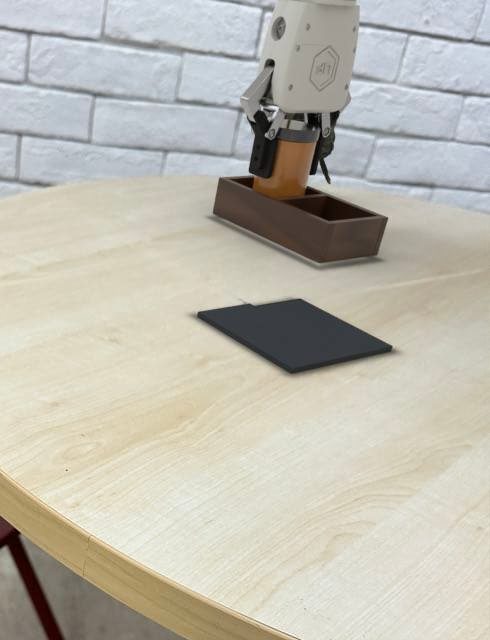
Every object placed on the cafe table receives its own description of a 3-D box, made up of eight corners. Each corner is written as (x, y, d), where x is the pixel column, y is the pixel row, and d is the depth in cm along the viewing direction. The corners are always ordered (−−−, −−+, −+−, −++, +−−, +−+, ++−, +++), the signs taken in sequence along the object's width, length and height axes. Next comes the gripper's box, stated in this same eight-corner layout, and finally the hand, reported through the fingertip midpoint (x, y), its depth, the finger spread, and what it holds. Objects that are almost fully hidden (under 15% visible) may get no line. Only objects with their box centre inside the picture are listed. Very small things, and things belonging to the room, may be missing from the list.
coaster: (294, 300, 81) (295, 295, 80) (391, 351, 73) (393, 346, 73) (196, 316, 75) (197, 311, 74) (290, 373, 67) (292, 368, 67)
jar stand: (268, 212, 105) (276, 173, 102) (376, 260, 94) (388, 217, 91) (211, 218, 100) (218, 177, 98) (317, 268, 89) (329, 223, 86)
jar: (275, 202, 102) (292, 118, 96) (312, 216, 98) (332, 129, 92) (236, 205, 99) (252, 119, 93) (272, 221, 95) (291, 131, 89)
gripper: (285, -16, 79) (247, 187, 89) (406, -7, 87) (358, 178, 98) (232, -24, 84) (202, 170, 94) (352, -14, 92) (312, 162, 102)
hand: (282, 172), depth 96 cm, fingers closed on jar, 6 cm apart
